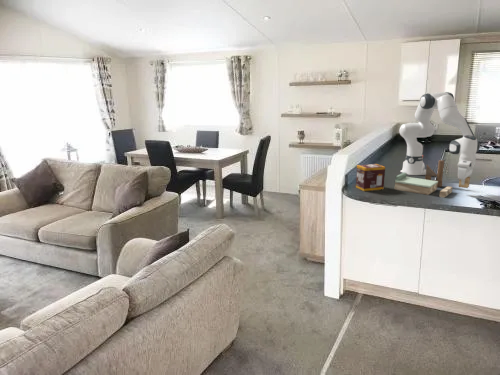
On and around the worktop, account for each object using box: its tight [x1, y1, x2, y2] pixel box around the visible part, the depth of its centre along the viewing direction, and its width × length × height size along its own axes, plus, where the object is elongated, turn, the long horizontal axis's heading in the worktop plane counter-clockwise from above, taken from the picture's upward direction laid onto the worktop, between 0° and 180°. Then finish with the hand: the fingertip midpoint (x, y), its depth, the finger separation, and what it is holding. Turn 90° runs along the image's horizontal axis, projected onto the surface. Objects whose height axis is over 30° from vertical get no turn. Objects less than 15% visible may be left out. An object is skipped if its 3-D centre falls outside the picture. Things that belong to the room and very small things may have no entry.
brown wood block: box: [458, 176, 471, 189], centre depth 244 cm, size 4×5×6 cm
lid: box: [394, 172, 438, 188], centre depth 258 cm, size 16×22×4 cm
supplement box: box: [355, 163, 386, 192], centre depth 262 cm, size 10×15×16 cm
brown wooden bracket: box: [424, 159, 445, 188], centre depth 266 cm, size 4×11×18 cm, turn 64°
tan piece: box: [394, 182, 453, 199], centre depth 256 cm, size 16×31×4 cm, turn 49°
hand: (464, 183), depth 245 cm, fingers closed on brown wood block, 4 cm apart
